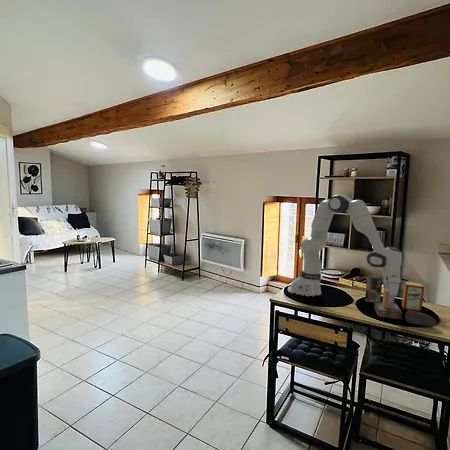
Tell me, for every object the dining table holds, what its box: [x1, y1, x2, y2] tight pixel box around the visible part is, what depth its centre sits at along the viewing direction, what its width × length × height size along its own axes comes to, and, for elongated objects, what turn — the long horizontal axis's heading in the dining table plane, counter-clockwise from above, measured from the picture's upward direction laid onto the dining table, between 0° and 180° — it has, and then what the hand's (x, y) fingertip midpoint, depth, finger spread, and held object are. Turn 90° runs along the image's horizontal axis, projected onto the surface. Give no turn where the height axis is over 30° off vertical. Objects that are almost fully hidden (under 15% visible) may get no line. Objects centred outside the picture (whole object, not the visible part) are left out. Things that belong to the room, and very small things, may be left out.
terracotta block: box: [381, 287, 396, 309], centre depth 189 cm, size 5×5×10 cm
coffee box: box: [364, 274, 384, 303], centre depth 209 cm, size 9×6×16 cm
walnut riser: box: [373, 301, 403, 320], centre depth 190 cm, size 12×14×4 cm
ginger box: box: [401, 281, 425, 313], centre depth 198 cm, size 10×6×16 cm
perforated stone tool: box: [404, 310, 438, 328], centre depth 176 cm, size 15×5×7 cm, turn 61°
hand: (388, 298), depth 189 cm, fingers open, 8 cm apart
